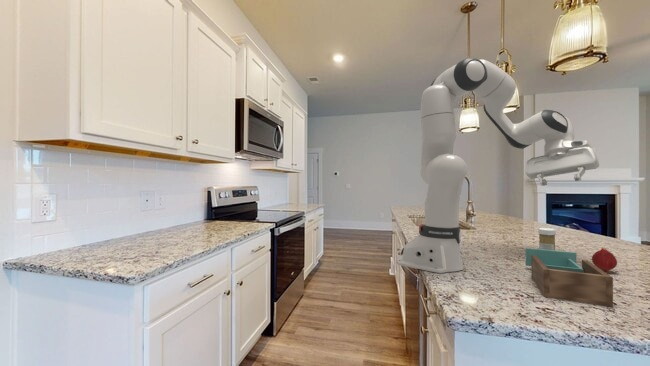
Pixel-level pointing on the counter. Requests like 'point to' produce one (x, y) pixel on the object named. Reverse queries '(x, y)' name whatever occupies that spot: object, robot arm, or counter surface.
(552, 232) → the pill bottle
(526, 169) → the robot arm
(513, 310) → the counter surface
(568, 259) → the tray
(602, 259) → the onion
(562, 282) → the open wooden box
